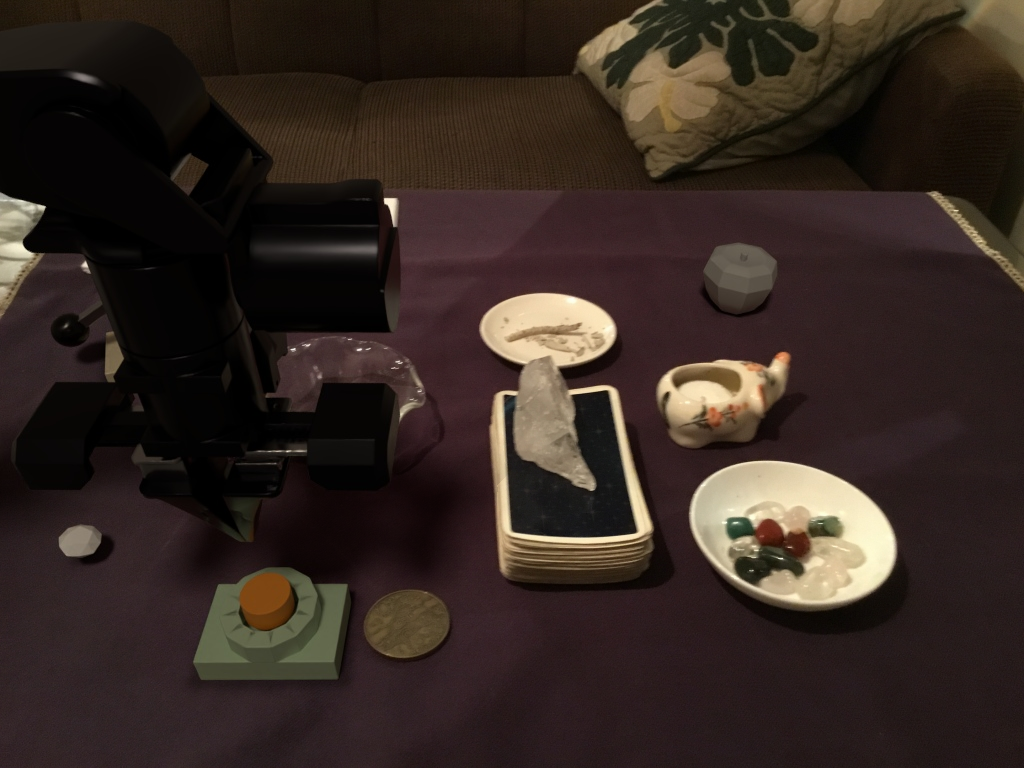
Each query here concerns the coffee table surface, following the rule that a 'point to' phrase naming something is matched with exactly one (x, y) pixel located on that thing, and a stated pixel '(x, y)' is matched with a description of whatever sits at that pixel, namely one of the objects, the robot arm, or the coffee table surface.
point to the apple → (739, 277)
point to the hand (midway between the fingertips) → (249, 535)
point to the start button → (267, 601)
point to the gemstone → (80, 541)
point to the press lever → (76, 325)
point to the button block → (276, 634)
